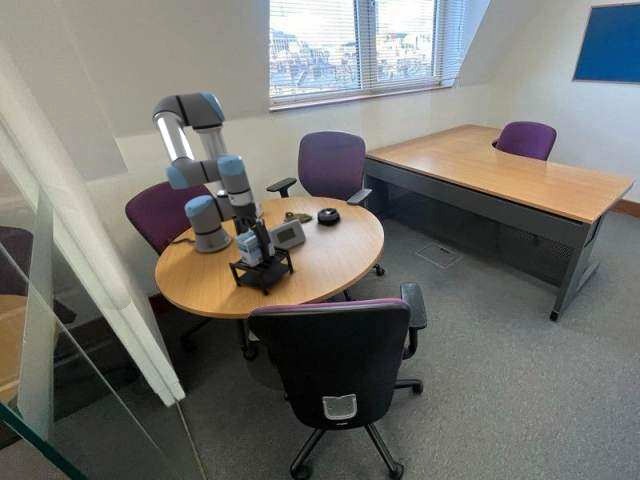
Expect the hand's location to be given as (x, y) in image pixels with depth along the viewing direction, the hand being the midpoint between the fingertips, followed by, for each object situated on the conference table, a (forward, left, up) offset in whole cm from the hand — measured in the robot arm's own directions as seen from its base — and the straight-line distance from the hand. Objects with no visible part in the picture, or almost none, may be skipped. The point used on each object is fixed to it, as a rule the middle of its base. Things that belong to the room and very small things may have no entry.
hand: (259, 256), depth 118 cm
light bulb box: (0, 0, 0) cm, 0 cm away
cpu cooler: (-3, +50, -11) cm, 52 cm away
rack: (0, 0, -11) cm, 11 cm away
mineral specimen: (-45, +39, -11) cm, 61 cm away
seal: (-20, +46, -11) cm, 52 cm away
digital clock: (-7, +23, -11) cm, 27 cm away
